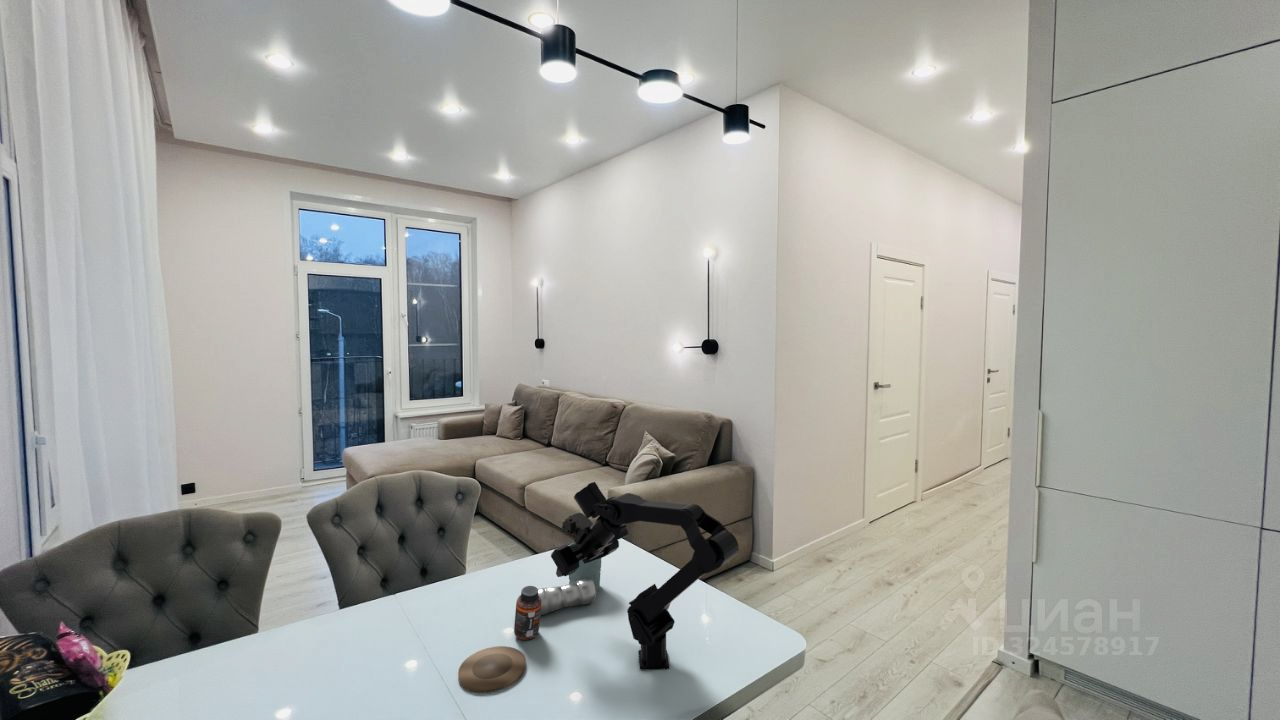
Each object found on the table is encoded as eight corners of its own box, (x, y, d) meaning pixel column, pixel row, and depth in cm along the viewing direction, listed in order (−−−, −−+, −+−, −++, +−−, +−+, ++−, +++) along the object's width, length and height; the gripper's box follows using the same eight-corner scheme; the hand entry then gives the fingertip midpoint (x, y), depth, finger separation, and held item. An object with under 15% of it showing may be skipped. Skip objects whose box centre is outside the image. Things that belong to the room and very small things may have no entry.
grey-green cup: (564, 582, 150) (564, 542, 150) (598, 577, 153) (598, 538, 153) (570, 599, 141) (570, 556, 140) (606, 594, 144) (606, 551, 143)
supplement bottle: (536, 642, 121) (540, 599, 119) (511, 640, 121) (514, 597, 119) (540, 625, 127) (544, 584, 125) (516, 622, 127) (520, 581, 125)
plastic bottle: (589, 583, 144) (517, 599, 136) (593, 572, 140) (520, 588, 132) (595, 606, 140) (521, 624, 132) (600, 595, 136) (524, 613, 127)
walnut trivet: (519, 691, 104) (519, 686, 104) (449, 694, 104) (449, 689, 104) (530, 649, 118) (530, 644, 118) (469, 651, 118) (468, 647, 118)
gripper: (608, 495, 133) (579, 530, 140) (554, 516, 118) (525, 553, 125) (633, 531, 128) (602, 565, 135) (580, 557, 113) (549, 594, 120)
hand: (570, 568), depth 129 cm, fingers open, 9 cm apart
